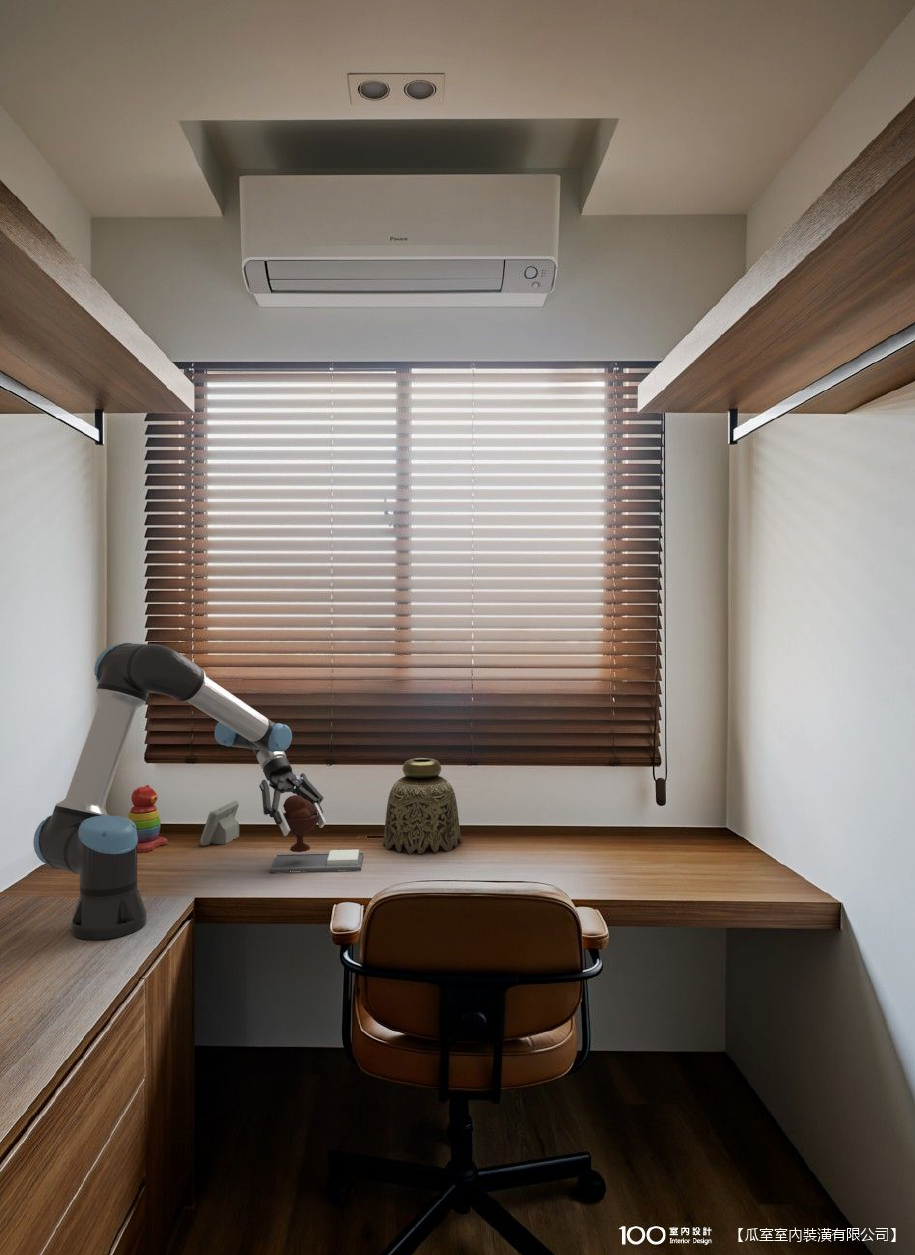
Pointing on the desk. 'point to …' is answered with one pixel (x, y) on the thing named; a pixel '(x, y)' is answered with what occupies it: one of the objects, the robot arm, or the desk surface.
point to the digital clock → (221, 825)
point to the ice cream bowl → (300, 819)
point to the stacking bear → (146, 819)
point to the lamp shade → (422, 809)
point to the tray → (308, 863)
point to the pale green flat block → (343, 858)
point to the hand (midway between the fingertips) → (305, 829)
